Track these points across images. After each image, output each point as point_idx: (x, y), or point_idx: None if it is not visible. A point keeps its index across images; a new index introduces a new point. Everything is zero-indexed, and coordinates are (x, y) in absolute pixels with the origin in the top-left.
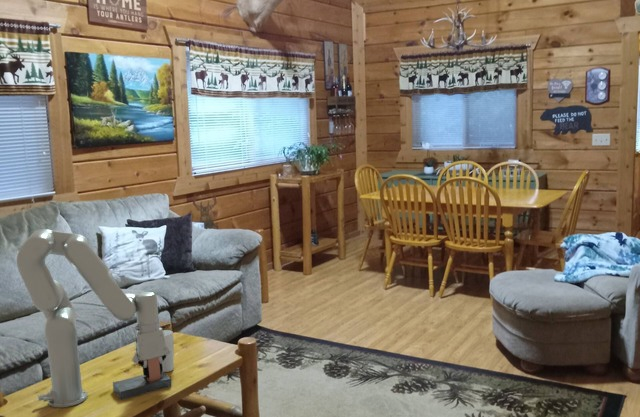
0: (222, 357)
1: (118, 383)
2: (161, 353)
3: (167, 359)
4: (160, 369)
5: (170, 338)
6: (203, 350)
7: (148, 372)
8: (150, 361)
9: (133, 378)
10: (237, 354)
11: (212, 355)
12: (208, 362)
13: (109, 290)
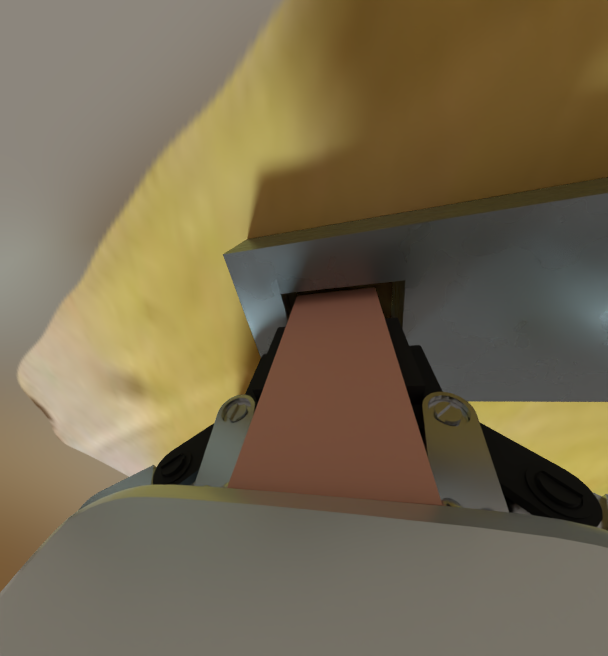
0: (75, 403)
1: (599, 370)
2: (112, 565)
3: None
4: (275, 351)
5: None
6: (154, 461)
7: (393, 345)
8: (381, 452)
9: (458, 386)
10: (31, 397)
11: (116, 428)
12: (113, 395)
13: None
